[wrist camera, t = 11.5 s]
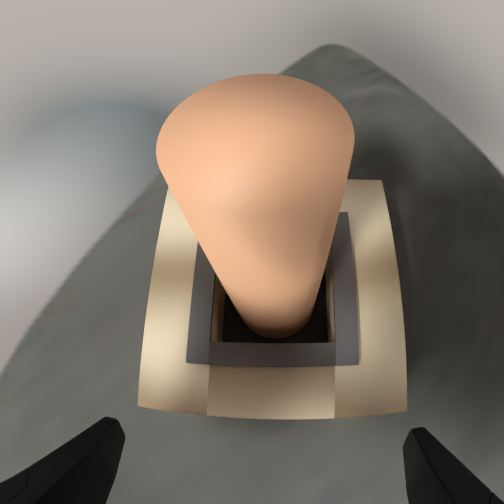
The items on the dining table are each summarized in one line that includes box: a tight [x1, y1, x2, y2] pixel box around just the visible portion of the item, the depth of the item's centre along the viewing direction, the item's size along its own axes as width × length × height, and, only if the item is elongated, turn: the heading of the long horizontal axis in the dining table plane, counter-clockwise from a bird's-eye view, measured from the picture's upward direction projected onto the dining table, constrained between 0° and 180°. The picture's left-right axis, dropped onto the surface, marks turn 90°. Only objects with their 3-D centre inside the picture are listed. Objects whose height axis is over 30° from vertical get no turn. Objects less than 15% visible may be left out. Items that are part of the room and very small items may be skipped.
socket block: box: [138, 179, 407, 419], centre depth 16 cm, size 12×12×3 cm
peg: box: [156, 74, 355, 339], centre depth 11 cm, size 4×4×12 cm
